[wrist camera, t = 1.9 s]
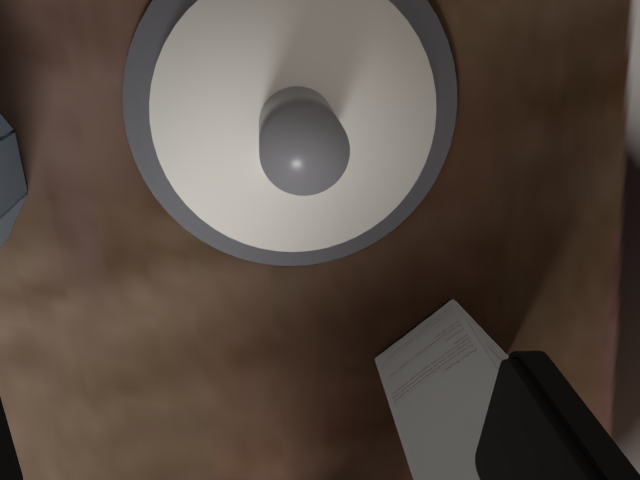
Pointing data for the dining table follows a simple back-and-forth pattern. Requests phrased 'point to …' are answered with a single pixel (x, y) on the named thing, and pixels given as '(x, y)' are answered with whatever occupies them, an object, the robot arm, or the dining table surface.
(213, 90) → the lid
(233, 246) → the mat
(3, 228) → the bowl
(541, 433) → the robot arm
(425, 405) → the supplement box
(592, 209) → the dining table surface
